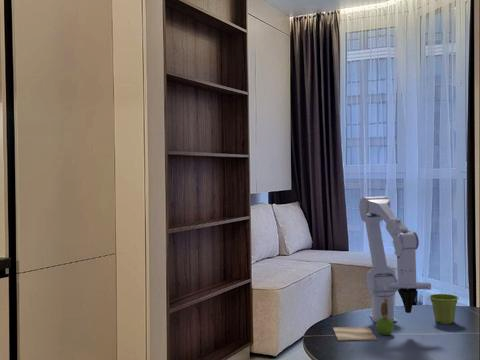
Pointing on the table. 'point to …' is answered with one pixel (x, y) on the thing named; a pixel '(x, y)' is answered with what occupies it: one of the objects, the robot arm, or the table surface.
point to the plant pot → (444, 307)
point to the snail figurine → (385, 320)
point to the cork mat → (354, 334)
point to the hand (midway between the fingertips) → (408, 312)
